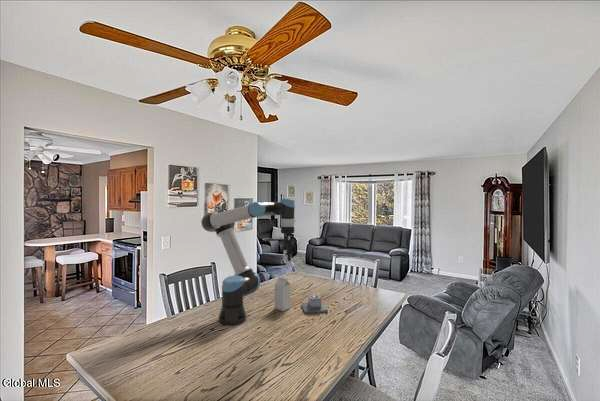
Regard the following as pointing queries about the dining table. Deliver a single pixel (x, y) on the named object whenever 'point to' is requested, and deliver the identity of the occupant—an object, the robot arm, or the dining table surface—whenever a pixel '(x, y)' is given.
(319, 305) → the grey square sleeve
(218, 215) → the robot arm
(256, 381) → the dining table surface
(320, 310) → the shaft stand
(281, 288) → the milk carton
